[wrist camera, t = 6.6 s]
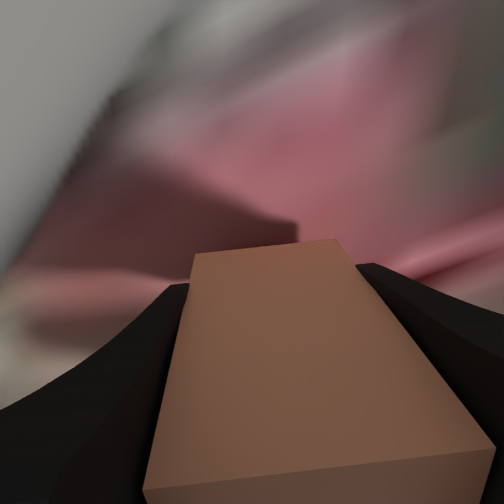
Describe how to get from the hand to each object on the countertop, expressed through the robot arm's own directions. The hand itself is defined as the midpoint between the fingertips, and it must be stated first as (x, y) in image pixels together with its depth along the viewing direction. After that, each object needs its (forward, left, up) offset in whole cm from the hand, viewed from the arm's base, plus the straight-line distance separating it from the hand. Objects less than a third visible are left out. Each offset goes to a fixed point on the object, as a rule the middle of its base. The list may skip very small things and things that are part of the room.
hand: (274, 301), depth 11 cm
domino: (0, 0, -2) cm, 2 cm away
